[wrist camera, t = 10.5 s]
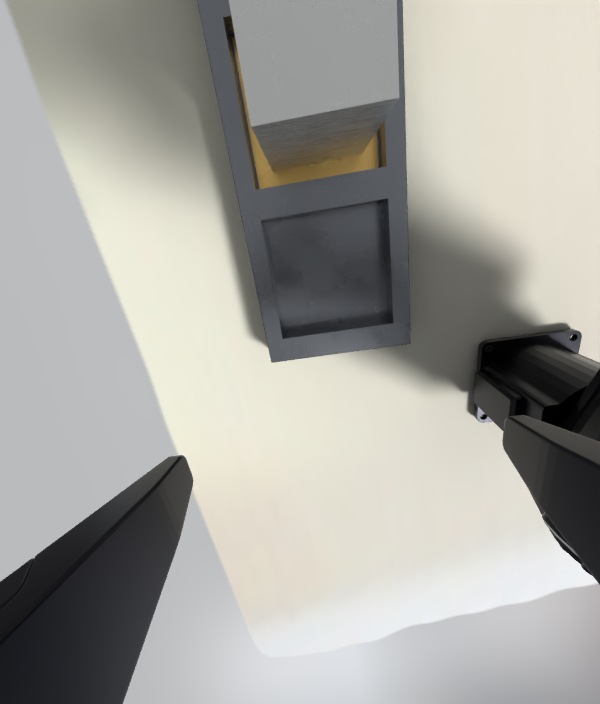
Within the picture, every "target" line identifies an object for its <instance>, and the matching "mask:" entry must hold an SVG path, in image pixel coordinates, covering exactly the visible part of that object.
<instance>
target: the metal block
mask: <svg viewBox="0 0 600 704" xmlns="http://www.w3.org/2000/svg"><path fill="white" fill-rule="evenodd" d="M229 5H230V11H231V16H232V22H233V28H234V33H235V39H236V45H237V50H238V56H239V62H240V67H241V73H242V79H243V84H244V90H245V96H246V101H247V107H248V113H249V118H250V124H251V128H252V130H253V132H254V134H255V136H256V138H257V140H258V142H259V144H260V146H261V148H262V150H263V153H264V155H265V157H266V159H267V161H268V163H269V165H270V167H271V169H272V171H277V170H282V169H288V168H293V167H298V166H304V165H309V164H315V163H320V162H326V161H331V160H337V159H342V158H348V157H353V156H359V155H362V154H363V152H364V151H365V149H366V147H367V146H368V144H369V143H370V141H371V140H372V138H373V137H374V135H375V134H376V132H377V131H378V129H379V128H380V126H381V125H382V123H383V122H384V120H385V119H386V117H387V116H388V114H389V113H390V111H391V110H392V108H393V107H394V105H395V104H396V102H397V100H398V99H399V67H398V31H397V0H229Z"/></svg>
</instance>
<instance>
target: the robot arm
mask: <svg viewBox="0 0 600 704" xmlns="http://www.w3.org/2000/svg"><path fill="white" fill-rule="evenodd" d="M572 335H573V336H572ZM570 336H572V338H571V339H570ZM581 337H582V336H581V333H580V332H579V331H577V330H574V329H567V330H559V331H552V332H544V333H537V334H530V335H522V336H515V337H508V338H500V339H493V340H486V341H483V342H482V343H481V344H480V345H479V349H478V365H477V371H476V372H475V381H474V397H473V402H474V403H475V412H474V416H475V418H476V419H477V420H478V421H479V422H492V421H493V422H494V423H495V424H496V425H497V426H498V427H499V428H501V429H502V430H503V431H504V433H503V447H504V450H505V452H506V453H507V455H508V457H509V458H510V460H511V461H512V463H513V465H514V466H515V468H516V469H517V471H518V473H519V474H520V476H521V477H522V479H523V481H524V482H525V484H526V485H527V487H528V489H529V491H530V493H531V495H532V497H533V499H534V500H535V502H536V504H537V506H538V508H539V510H540V512H541V514H542V518H543V520H544V522H545V524H546V525H547V526H548V528H549V529H550V531H551V533H552V534H553V536H554V538H555V539H556V540H557V541H558V543H559V544H560V546H561V547H562V548H563V549H564V550H565V551H566V552H567V553H569V554H570V555H571V556H572V557H573V558H574V559H575V560H576V561H577V562H579V563H580V564H581V566H582V568H583V569H584V570H585V571H586V572H588V573H589V574H590V575H592V576H593V577H594V578H595V579H596V580H597V582H598V583H599V584H600V363H599V362H596V361H594V360H592V359H589V358H587V357H584V356H582V355H580V354H578V353H579V347H580V342H581ZM487 346H490V347H489V349H488V350H485V349H486V347H487ZM483 414H484V415H483ZM481 415H483V416H482V417H481ZM192 486H193V477H192V474H191V471H190V468H189V465H188V463H187V460H186V458H185V457H184V456H182V455H179V456H171V457H168V458H167V459H166V460H164V461H163V462H162V463H160V464H159V465H157V466H156V467H155V468H153V469H152V470H151V471H149V472H148V473H147V474H145V475H144V476H143V477H141V478H140V479H138V480H137V481H136V482H134V483H133V484H132V485H130V486H129V487H128V488H126V489H125V490H124V491H122V492H121V493H120V494H118V495H117V496H116V497H114V498H113V499H112V500H110V501H109V502H108V503H106V504H105V505H103V506H102V507H101V508H99V509H98V510H97V511H95V512H94V513H93V514H91V515H90V516H89V517H87V518H86V519H85V520H83V521H82V522H81V523H79V524H78V525H76V526H75V527H74V528H72V529H71V530H70V531H68V532H67V533H66V534H64V535H63V536H62V537H60V538H59V539H58V540H56V541H55V542H54V543H52V544H51V545H50V546H48V547H47V548H45V549H44V550H43V551H41V552H40V553H39V554H37V555H36V556H35V559H30V560H29V561H28V562H26V563H25V564H24V565H22V566H21V567H20V568H19V569H17V570H16V571H14V572H13V573H12V574H10V575H9V576H8V577H6V578H5V579H3V580H2V581H1V582H0V704H123V701H124V698H125V696H126V692H127V690H128V687H129V684H130V681H131V678H132V675H133V673H134V670H135V666H136V664H137V661H138V658H139V655H140V652H141V649H142V647H143V644H144V641H145V638H146V635H147V632H148V629H149V626H150V623H151V621H152V618H153V615H154V612H155V609H156V606H157V603H158V600H159V598H160V595H161V591H162V589H163V586H164V583H165V580H166V577H167V574H168V572H169V569H170V566H171V563H172V560H173V557H174V554H175V551H176V548H177V545H178V542H179V539H180V536H181V531H182V528H183V524H184V520H185V515H186V511H187V507H188V503H189V499H190V495H191V491H192Z"/></svg>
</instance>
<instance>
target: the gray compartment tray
mask: <svg viewBox="0 0 600 704" xmlns="http://www.w3.org/2000/svg"><path fill="white" fill-rule="evenodd" d="M197 2H198V7H199V11H200V16H201V21H202V26H203V31H204V36H205V41H206V46H207V50H208V55H209V60H210V65H211V70H212V75H213V80H214V85H215V89H216V94H217V99H218V104H219V109H220V114H221V119H222V124H223V128H224V133H225V138H226V143H227V148H228V153H229V158H230V163H231V167H232V172H233V177H234V182H235V187H236V192H237V197H238V202H239V206H240V211H241V216H242V221H243V226H244V231H245V236H246V241H247V245H248V250H249V255H250V260H251V265H252V270H253V275H254V280H255V284H256V289H257V294H258V299H259V304H260V309H261V314H262V319H263V323H264V328H265V333H266V338H267V343H268V348H269V353H270V358H271V362H280V361H287V360H294V359H302V358H309V357H316V356H323V355H331V354H338V353H345V352H353V351H360V350H367V349H375V348H382V347H389V346H397V345H404V344H411V343H410V300H409V257H408V215H407V172H406V130H405V87H404V44H403V2H402V0H397V31H398V67H399V99H398V100H397V102H396V104H395V105H394V107H393V108H392V110H391V111H390V113H389V114H388V116H387V117H386V119H385V120H384V122H383V123H382V125H381V126H380V128H379V129H378V131H377V132H376V134H375V135H374V137H373V138H372V140H371V141H370V143H369V144H368V146H367V147H366V149H365V151H364V152H363V154H362V155H359V156H353V157H348V158H342V159H337V160H331V161H326V162H320V163H315V164H309V165H304V166H298V167H293V168H288V169H282V170H277V171H272V169H271V167H270V165H269V163H268V161H267V159H266V157H265V155H264V153H263V150H262V148H261V146H260V144H259V142H258V140H257V138H256V136H255V134H254V132H253V130H252V128H251V124H250V118H249V113H248V107H247V101H246V96H245V90H244V84H243V79H242V73H241V67H240V62H239V56H238V50H237V45H236V39H235V33H234V28H233V22H232V16H231V11H230V5H229V0H197Z"/></svg>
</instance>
